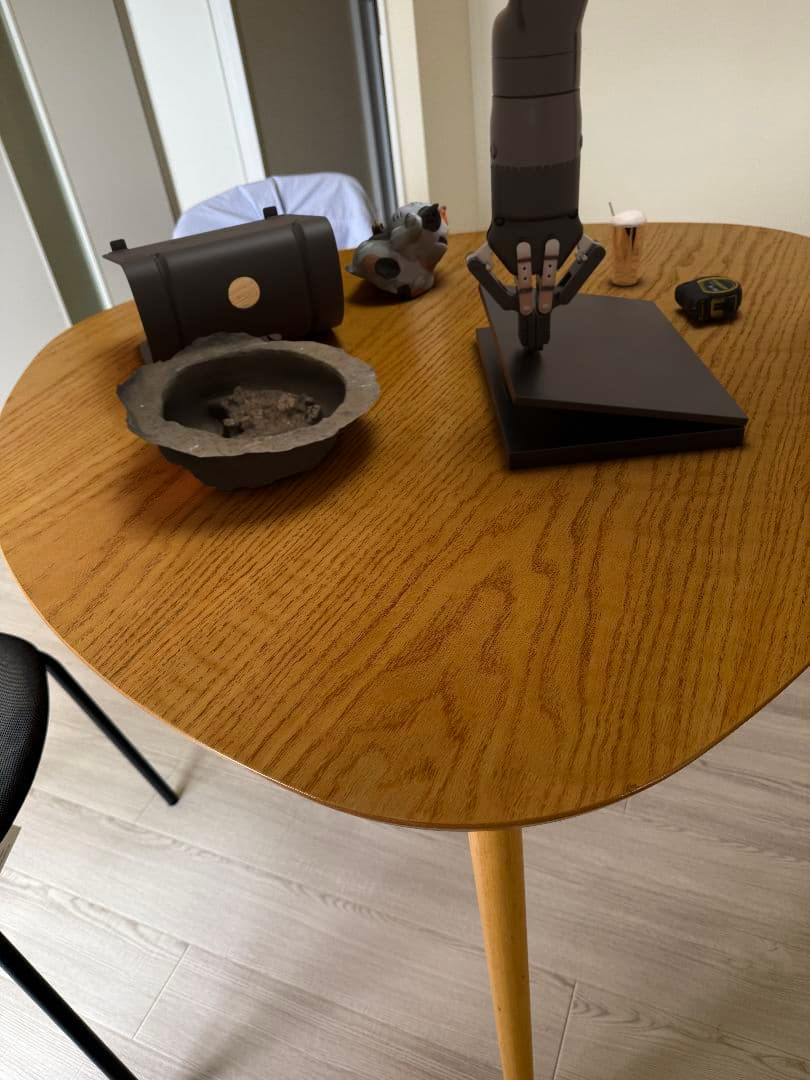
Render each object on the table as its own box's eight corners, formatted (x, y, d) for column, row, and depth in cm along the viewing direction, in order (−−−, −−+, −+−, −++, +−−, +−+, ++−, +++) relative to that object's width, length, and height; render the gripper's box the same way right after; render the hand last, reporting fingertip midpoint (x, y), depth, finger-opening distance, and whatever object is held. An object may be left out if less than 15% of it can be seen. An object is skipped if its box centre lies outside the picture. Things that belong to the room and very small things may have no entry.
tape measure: (670, 308, 97) (673, 278, 95) (725, 301, 97) (730, 271, 95) (690, 328, 92) (693, 297, 89) (748, 321, 91) (753, 289, 89)
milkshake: (615, 273, 109) (619, 197, 103) (649, 279, 106) (655, 201, 100) (596, 283, 107) (598, 206, 101) (629, 290, 104) (634, 211, 98)
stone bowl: (112, 441, 84) (88, 358, 79) (324, 388, 93) (315, 310, 88) (174, 550, 65) (148, 451, 60) (430, 469, 75) (427, 378, 70)
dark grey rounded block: (158, 405, 91) (114, 271, 81) (130, 341, 108) (91, 225, 99) (361, 349, 97) (342, 220, 88) (303, 297, 115) (282, 185, 106)
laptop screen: (513, 405, 67) (515, 396, 67) (477, 289, 91) (479, 281, 91) (745, 427, 69) (749, 418, 69) (650, 308, 93) (653, 300, 93)
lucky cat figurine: (370, 270, 122) (403, 179, 115) (437, 304, 120) (474, 214, 114) (329, 274, 108) (365, 172, 102) (404, 312, 107) (445, 210, 100)
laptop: (509, 470, 71) (508, 452, 70) (476, 342, 95) (475, 327, 94) (742, 445, 70) (745, 426, 69) (649, 322, 94) (650, 307, 93)
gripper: (604, 136, 68) (593, 327, 79) (453, 152, 69) (462, 340, 79) (625, 153, 62) (611, 357, 72) (460, 170, 63) (469, 370, 73)
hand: (533, 348), depth 76 cm, fingers closed
